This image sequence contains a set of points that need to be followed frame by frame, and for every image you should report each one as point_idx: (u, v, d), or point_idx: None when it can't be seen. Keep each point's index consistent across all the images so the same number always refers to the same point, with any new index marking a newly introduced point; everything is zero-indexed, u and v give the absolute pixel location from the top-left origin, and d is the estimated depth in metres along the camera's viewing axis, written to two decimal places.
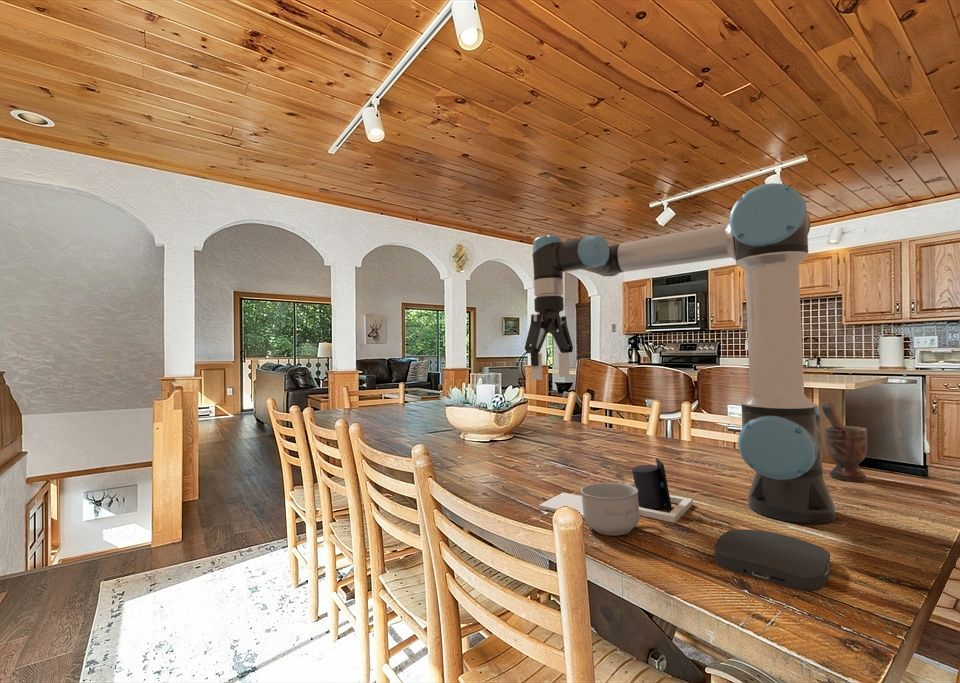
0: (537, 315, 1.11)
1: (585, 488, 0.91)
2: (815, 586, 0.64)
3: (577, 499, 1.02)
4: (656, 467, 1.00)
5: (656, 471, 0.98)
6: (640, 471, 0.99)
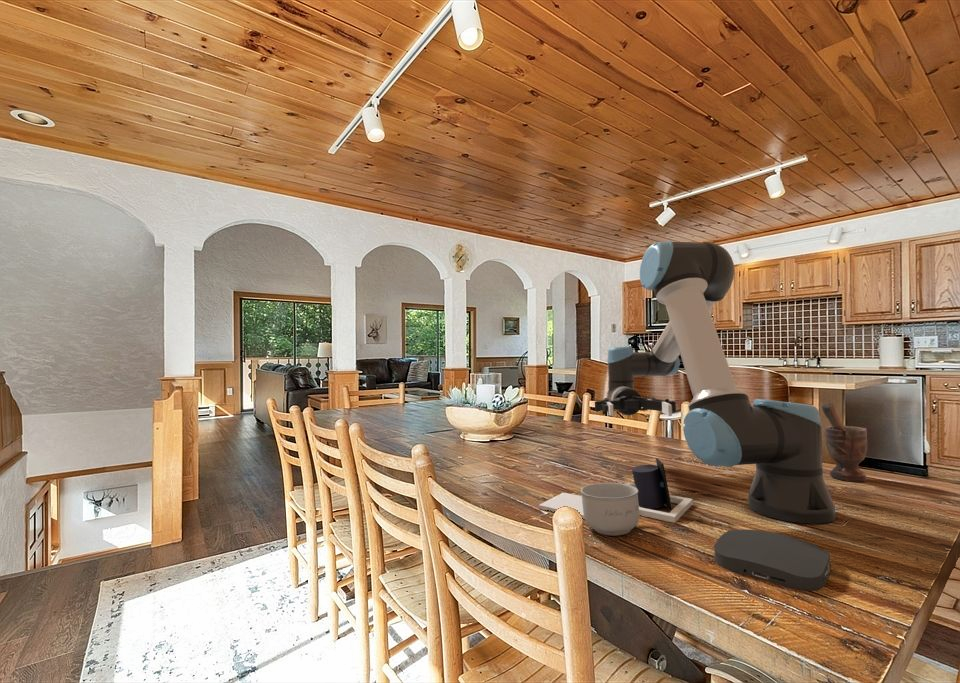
0: None
1: (585, 488, 0.91)
2: (815, 586, 0.64)
3: (577, 499, 1.02)
4: (656, 467, 1.00)
5: (656, 471, 0.98)
6: (640, 471, 0.99)
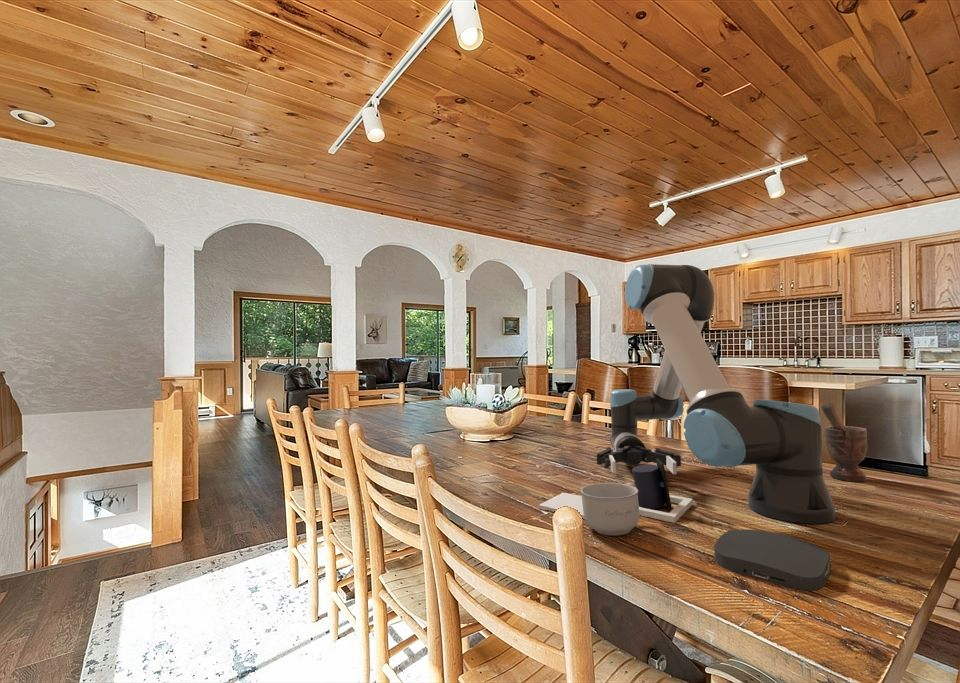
0: None
1: (585, 488, 0.91)
2: (815, 586, 0.64)
3: (577, 499, 1.02)
4: (656, 467, 1.00)
5: (656, 471, 0.98)
6: (640, 471, 0.99)
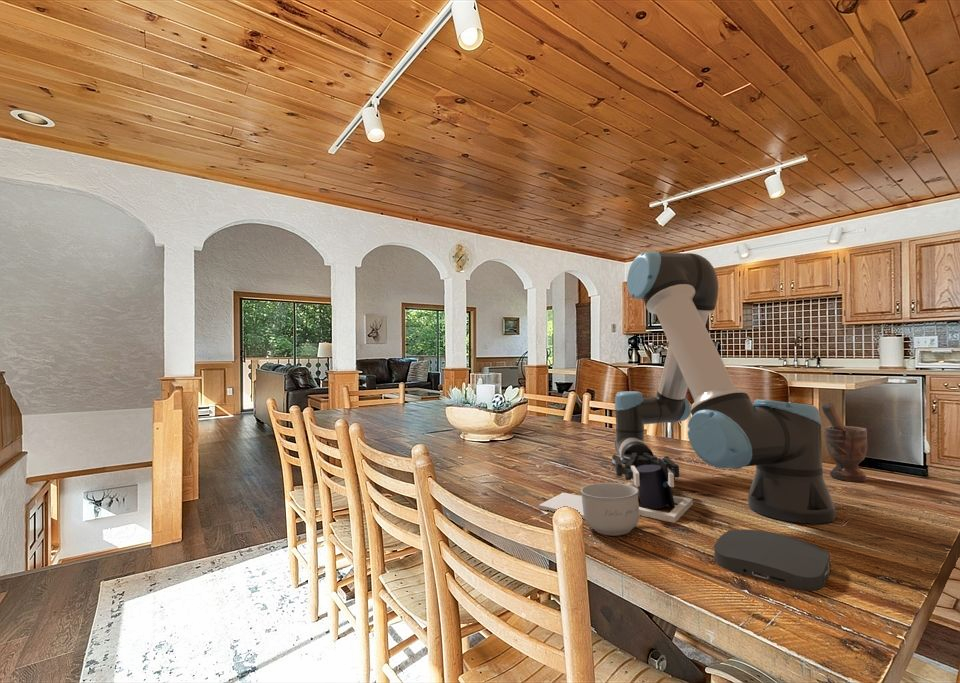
0: (612, 458, 1.12)
1: (585, 488, 0.91)
2: (815, 586, 0.64)
3: (577, 499, 1.02)
4: (659, 467, 0.99)
5: (659, 471, 0.98)
6: (643, 471, 0.99)
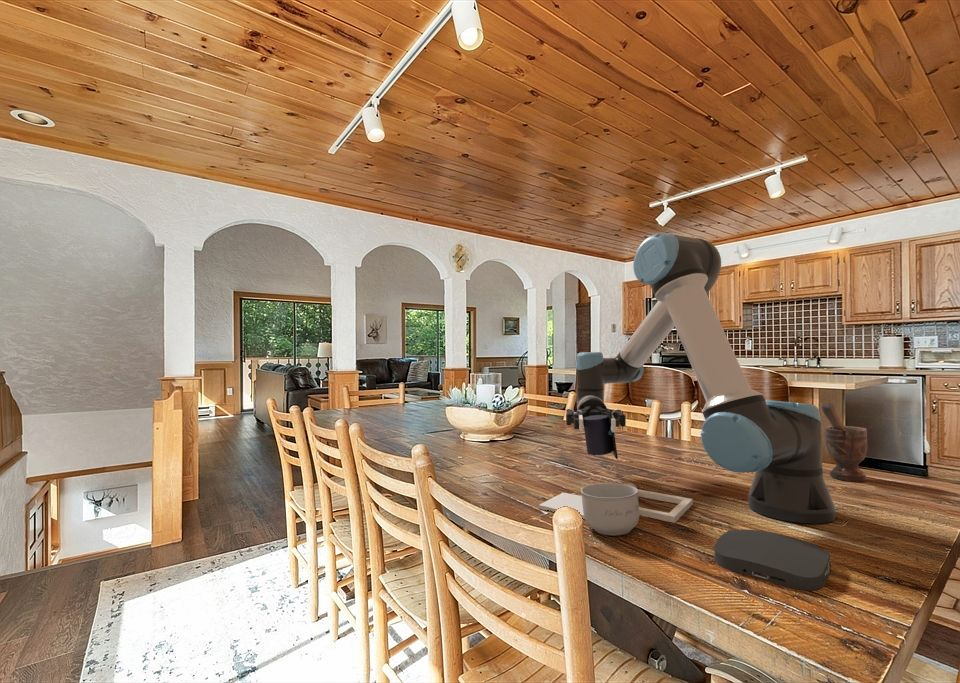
0: (566, 411, 1.15)
1: (585, 488, 0.91)
2: (815, 586, 0.64)
3: (577, 499, 1.02)
4: (606, 416, 1.02)
5: (605, 419, 1.01)
6: (589, 419, 1.01)
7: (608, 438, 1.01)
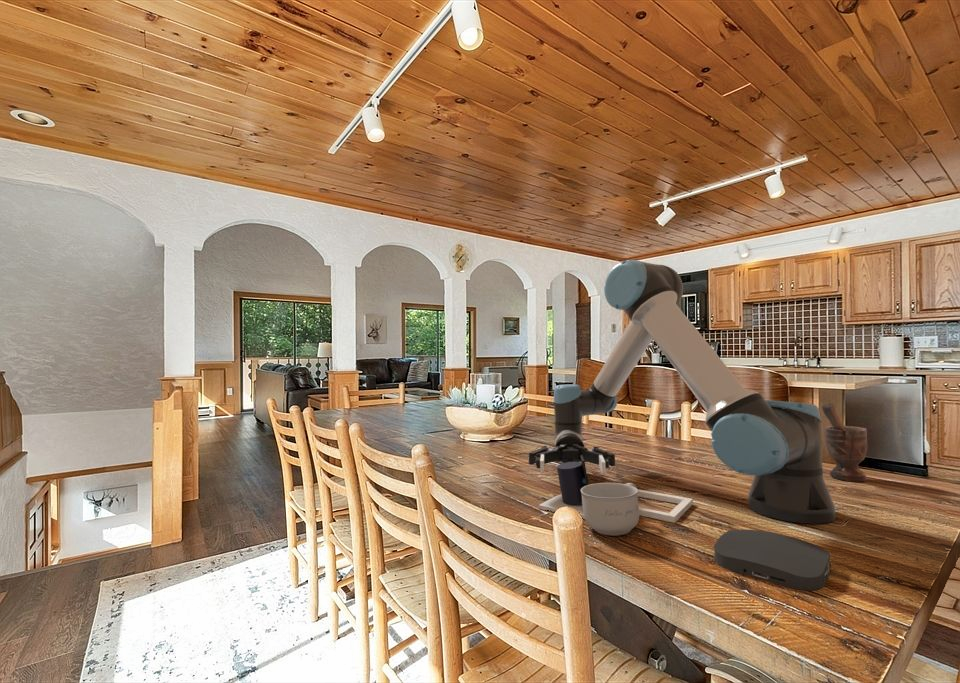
0: None
1: (585, 488, 0.91)
2: (815, 586, 0.64)
3: None
4: (580, 464, 1.01)
5: (579, 468, 0.99)
6: (563, 468, 1.00)
7: None
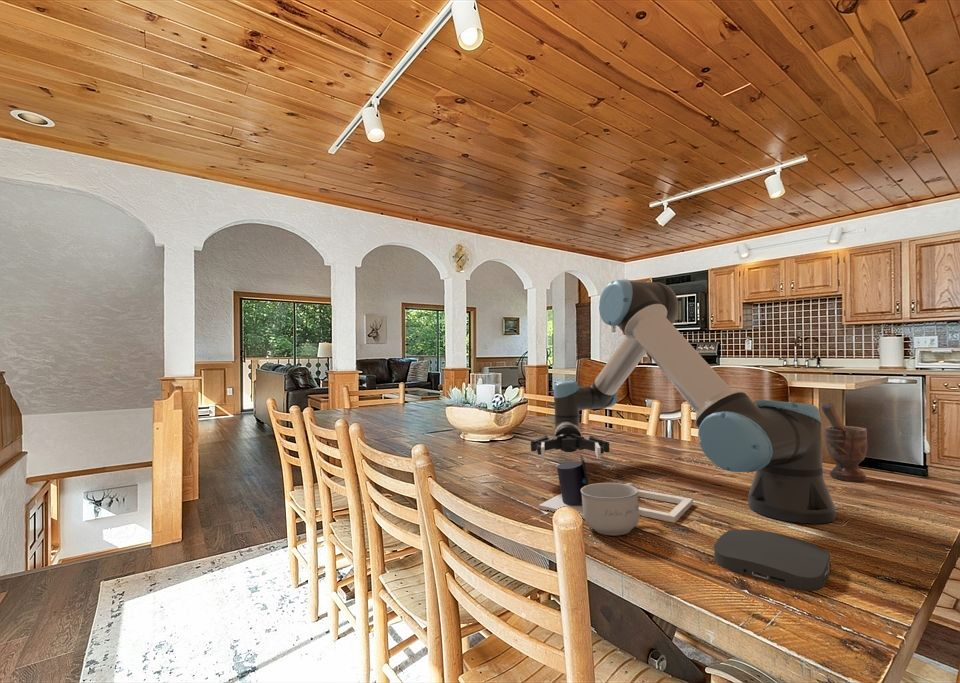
0: None
1: (585, 488, 0.91)
2: (815, 586, 0.64)
3: None
4: (579, 464, 1.01)
5: (579, 468, 0.99)
6: (563, 468, 1.00)
7: None
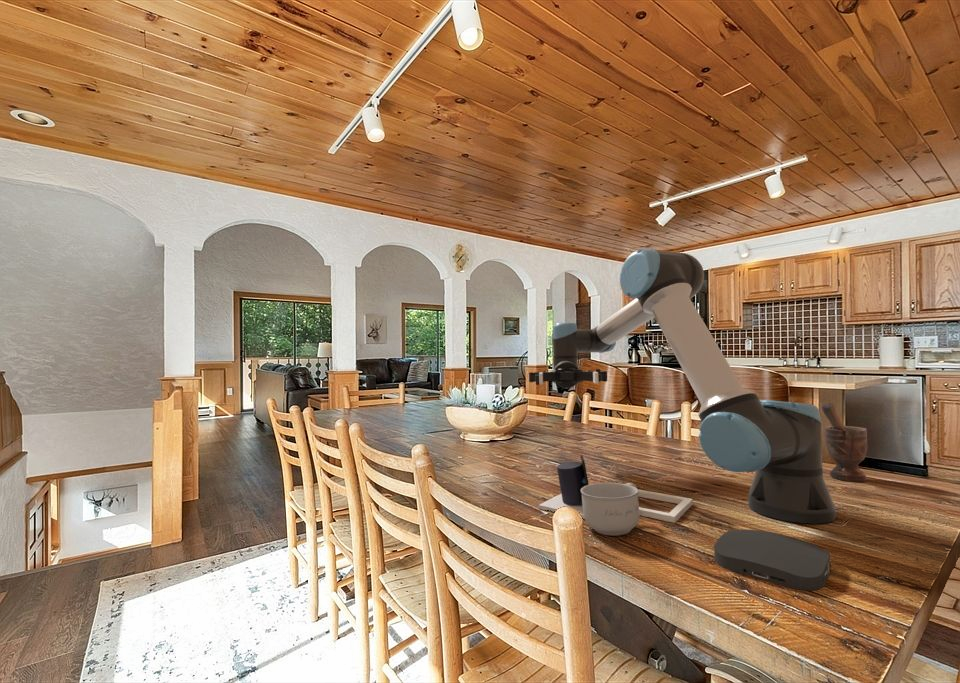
0: None
1: (585, 488, 0.91)
2: (815, 586, 0.64)
3: None
4: (579, 464, 1.01)
5: (579, 468, 0.99)
6: (563, 468, 1.00)
7: None
